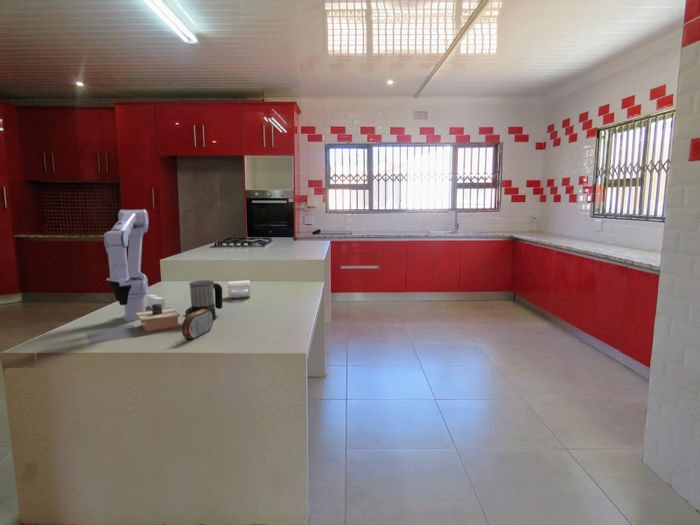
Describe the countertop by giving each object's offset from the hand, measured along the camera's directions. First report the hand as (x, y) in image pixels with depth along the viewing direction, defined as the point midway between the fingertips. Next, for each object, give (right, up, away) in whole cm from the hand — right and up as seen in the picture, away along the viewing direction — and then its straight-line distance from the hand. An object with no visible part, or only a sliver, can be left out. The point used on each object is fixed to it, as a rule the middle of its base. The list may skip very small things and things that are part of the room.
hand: (121, 302), depth 148 cm
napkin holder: (-3, -6, +34) cm, 34 cm away
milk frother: (+21, -8, +17) cm, 29 cm away
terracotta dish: (+11, -10, +5) cm, 16 cm away
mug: (+29, -3, +50) cm, 57 cm away
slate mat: (-1, -11, -4) cm, 12 cm away
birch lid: (+11, -5, +4) cm, 13 cm away
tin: (+29, -11, -4) cm, 32 cm away
